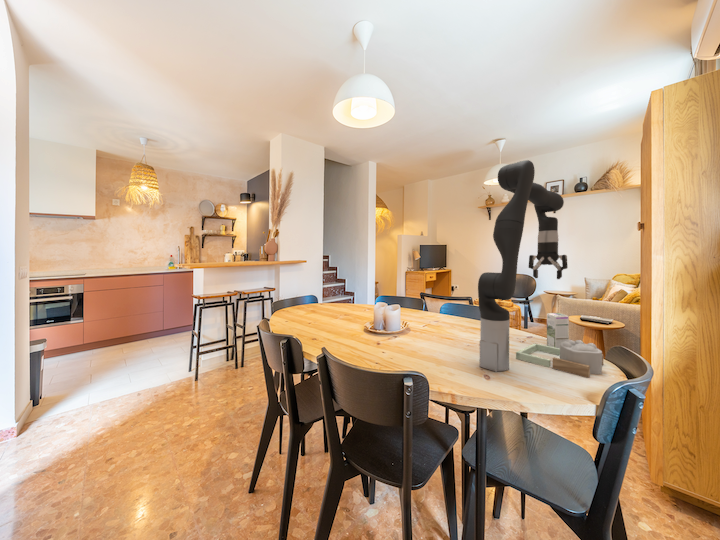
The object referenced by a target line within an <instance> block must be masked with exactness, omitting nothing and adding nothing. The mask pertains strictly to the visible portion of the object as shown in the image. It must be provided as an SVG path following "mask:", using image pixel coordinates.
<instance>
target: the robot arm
mask: <svg viewBox="0 0 720 540" xmlns="http://www.w3.org/2000/svg"><path fill="white" fill-rule="evenodd" d="M535 172H536V171H535V165H534V163H533V162H532V161H531V160H528V159H527V160H521V161H520V160H519V161H517V162H514V163H510V164H506V165H504V166H502V167H500V169H499V170H498V172H497V181H498V182H497V183H498V185H499V186H500V188H502V190H505V191H507V192H510V193H513V195H512V197H511V199H510V200H509V201H508V202H507V204H505V206H504V207H503V208H502V210H501V211H500V212H499V214H498V216H497V217H496V219H495V222H494V229H493V235H492V237H493V241H494V244H495V246H496V249H498V250H497V251H498V252H499V253H500V256H501V261H502V266H501V267H502V268H501V272H483V273H481V274H480V276H479V277H478V283H477V294H478V310H479V313H480V334H479V335H480V336H479V337H480V339H479V367H481V368H483V369H486V370H490V371H493V372H495V373H497V372H504V371H508V370H509V369H510V312H509V310H508V309H506V308H504V307H502V306H501V305H499V304H498V303H497V301H496V300H499V301H510V300H511V299H512V298H513V296H514V294H515V290H516V285H517V274H518V261H519V253H520V248H521V242H522V237H523V232H524V227H525V218H526V213H527V206H528V202H530V203H531V204H533V208H534V210H535V213H536V217H537V222H538V234H537V254H536V255H534V254H530V255H529V256H528V268H529V269H531V270H532V273H533V274H532V277H534V279H538V278H539V270H538V269H539V268H540V267H541V266H547V265H548V266H551V265H553V266H554V267H555V268H556V269H557V270H556V280H561V278H562V277H563V271H564V270H567V269H568V256H567V254H561V255H560V254H559V232H558V228H559V225H558V223H559V220H558V218H557V217H555V216H548V215H547V214H546V213H551V212H558V211H560V210H561V209H562V208H563V207H564V203H565V201H564V198H563V197H562V195H561V194H559V193H558V192H555V191H550V190H548V189H547V188H545V187H544V186H543V185H542V184H539V183H536V182H534V180H535V174H536V173H535ZM559 259H560V260H561V261H562V262H561V263H562V264H561V265H560V263H559V262H558V260H559ZM535 260H538V261H537V262H536V263H534V262H535ZM534 264H535V265H534Z"/></svg>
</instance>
